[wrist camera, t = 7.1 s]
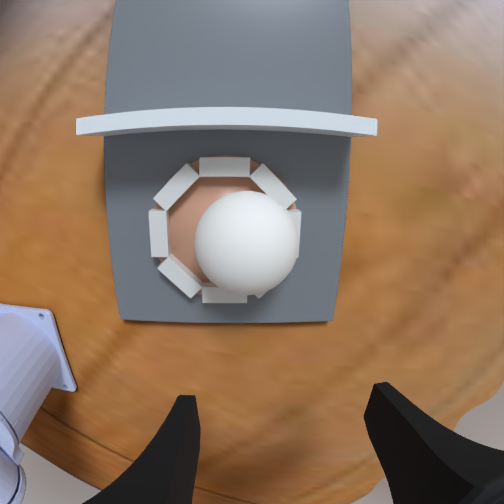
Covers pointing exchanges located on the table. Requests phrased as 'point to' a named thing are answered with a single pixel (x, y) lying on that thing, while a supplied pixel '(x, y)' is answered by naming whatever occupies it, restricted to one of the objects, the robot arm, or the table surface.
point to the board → (225, 147)
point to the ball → (246, 243)
